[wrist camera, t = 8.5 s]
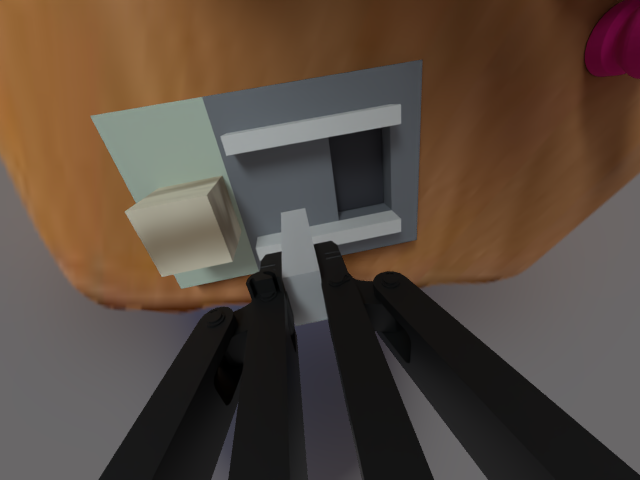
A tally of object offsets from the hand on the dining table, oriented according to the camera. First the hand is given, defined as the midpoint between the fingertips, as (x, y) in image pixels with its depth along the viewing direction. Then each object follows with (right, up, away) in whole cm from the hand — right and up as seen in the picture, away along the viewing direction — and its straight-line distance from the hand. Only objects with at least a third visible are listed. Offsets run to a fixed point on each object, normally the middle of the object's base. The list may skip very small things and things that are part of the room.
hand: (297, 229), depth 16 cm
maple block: (-10, +2, +9) cm, 14 cm away
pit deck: (-2, +6, +12) cm, 13 cm away
